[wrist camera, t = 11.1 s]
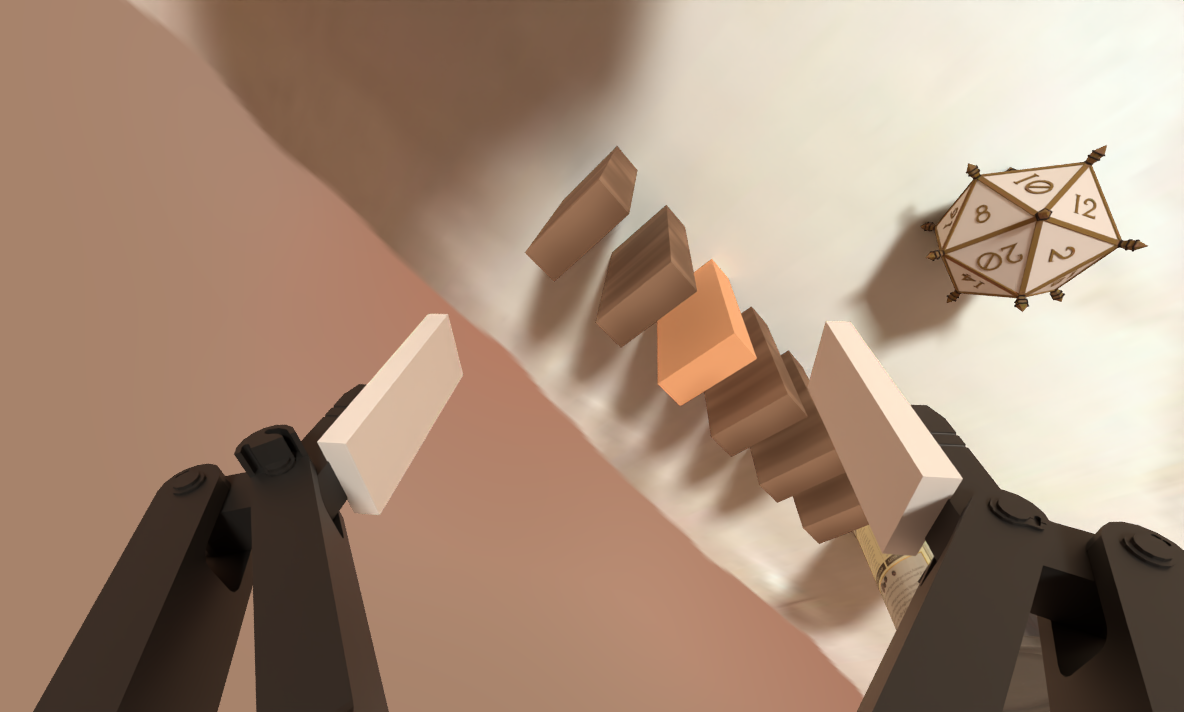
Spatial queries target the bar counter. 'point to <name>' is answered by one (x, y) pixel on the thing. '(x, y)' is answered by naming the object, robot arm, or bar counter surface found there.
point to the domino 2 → (646, 278)
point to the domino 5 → (796, 447)
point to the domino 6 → (830, 509)
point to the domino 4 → (753, 395)
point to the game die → (1026, 231)
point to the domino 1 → (585, 215)
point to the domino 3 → (702, 338)
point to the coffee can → (898, 586)
